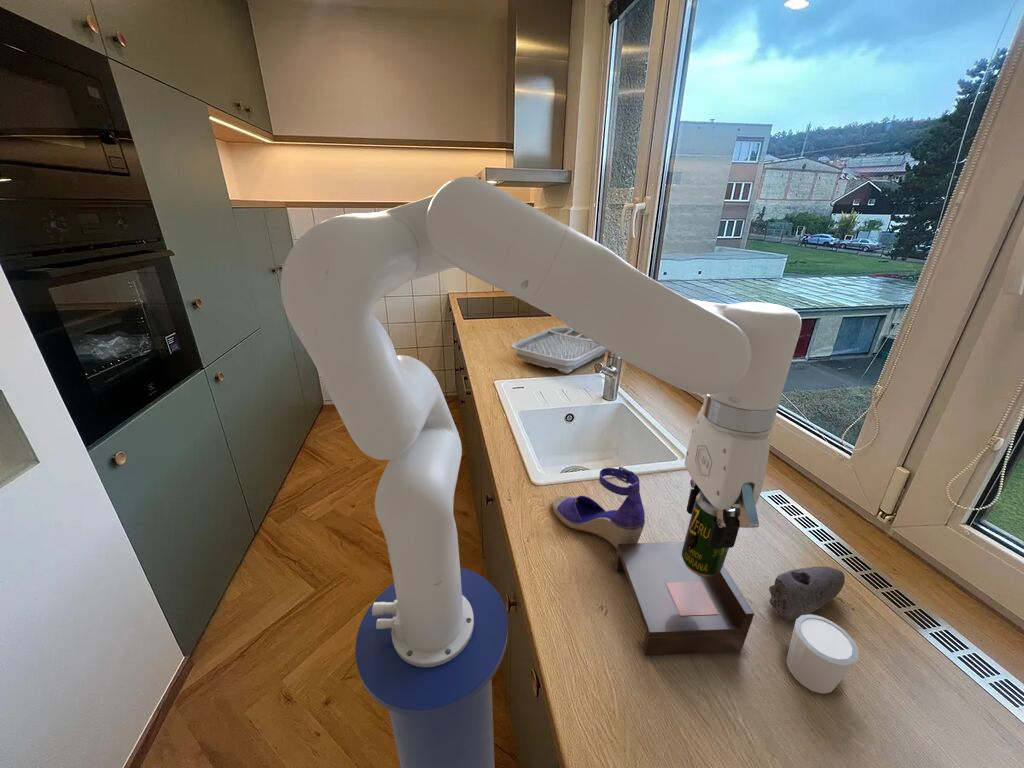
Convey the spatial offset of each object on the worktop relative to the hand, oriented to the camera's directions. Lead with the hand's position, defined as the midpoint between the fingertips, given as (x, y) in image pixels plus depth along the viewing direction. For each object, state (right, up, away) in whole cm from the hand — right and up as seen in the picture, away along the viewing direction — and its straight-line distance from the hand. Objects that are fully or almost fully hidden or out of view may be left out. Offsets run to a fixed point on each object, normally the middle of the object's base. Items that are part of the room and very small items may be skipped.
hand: (708, 527), depth 55 cm
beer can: (0, -6, +3) cm, 7 cm away
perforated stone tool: (+20, -16, +10) cm, 28 cm away
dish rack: (-6, +30, +114) cm, 118 cm away
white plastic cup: (+14, -20, +1) cm, 25 cm away
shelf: (-1, -16, +10) cm, 19 cm away
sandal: (-11, -9, +26) cm, 29 cm away
